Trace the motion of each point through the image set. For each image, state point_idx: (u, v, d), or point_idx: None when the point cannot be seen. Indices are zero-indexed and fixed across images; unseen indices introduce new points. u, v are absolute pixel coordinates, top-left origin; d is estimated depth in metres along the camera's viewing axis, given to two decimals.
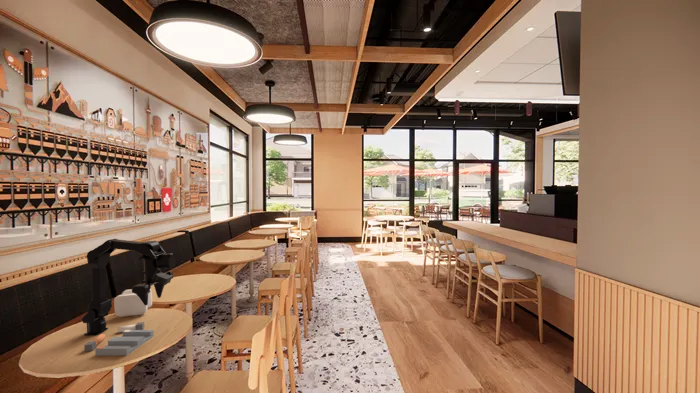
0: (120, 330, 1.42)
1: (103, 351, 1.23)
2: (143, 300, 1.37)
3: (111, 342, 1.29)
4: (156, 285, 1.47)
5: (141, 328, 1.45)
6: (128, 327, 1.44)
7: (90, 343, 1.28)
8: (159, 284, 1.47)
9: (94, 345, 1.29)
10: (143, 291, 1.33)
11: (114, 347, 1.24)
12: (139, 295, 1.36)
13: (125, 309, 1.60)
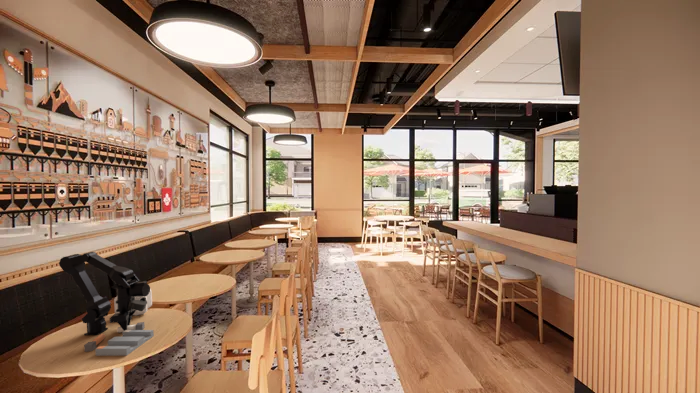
0: (120, 330, 1.42)
1: (103, 351, 1.23)
2: (123, 325, 1.42)
3: (111, 342, 1.29)
4: None
5: (141, 328, 1.45)
6: (128, 327, 1.44)
7: (90, 343, 1.28)
8: None
9: (94, 345, 1.29)
10: (124, 319, 1.36)
11: (114, 347, 1.24)
12: (119, 321, 1.41)
13: None
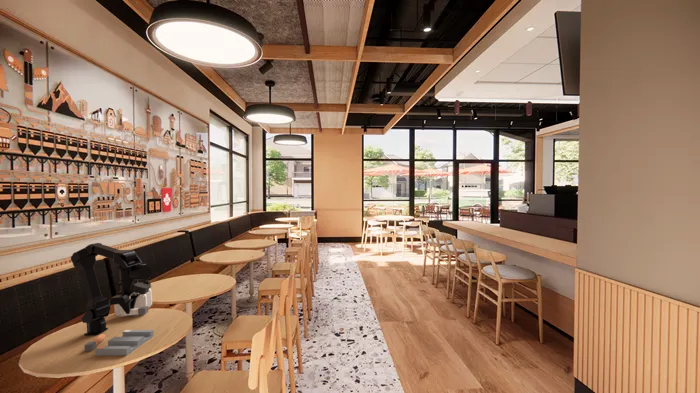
0: (123, 313, 1.38)
1: (103, 351, 1.23)
2: (125, 308, 1.37)
3: (111, 342, 1.29)
4: None
5: (143, 312, 1.39)
6: (131, 310, 1.38)
7: (90, 343, 1.28)
8: (131, 297, 1.41)
9: (94, 345, 1.29)
10: (122, 302, 1.30)
11: (114, 347, 1.24)
12: (121, 304, 1.36)
13: None
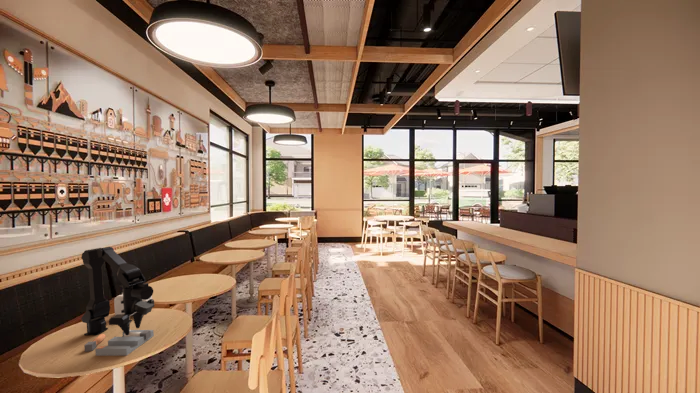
0: (126, 336, 1.34)
1: (103, 351, 1.23)
2: (124, 330, 1.31)
3: (111, 342, 1.29)
4: (134, 315, 1.38)
5: (145, 337, 1.34)
6: (133, 334, 1.34)
7: (90, 343, 1.28)
8: (137, 313, 1.38)
9: (94, 345, 1.29)
10: (121, 323, 1.25)
11: (114, 347, 1.24)
12: (120, 325, 1.30)
13: None
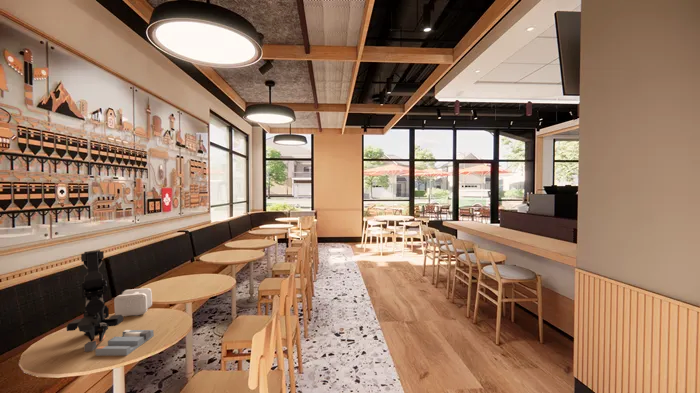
0: (126, 336, 1.34)
1: (103, 351, 1.23)
2: None
3: (111, 342, 1.29)
4: None
5: (145, 337, 1.34)
6: (133, 334, 1.34)
7: (90, 343, 1.28)
8: None
9: (94, 345, 1.29)
10: None
11: (114, 347, 1.24)
12: None
13: (125, 309, 1.60)
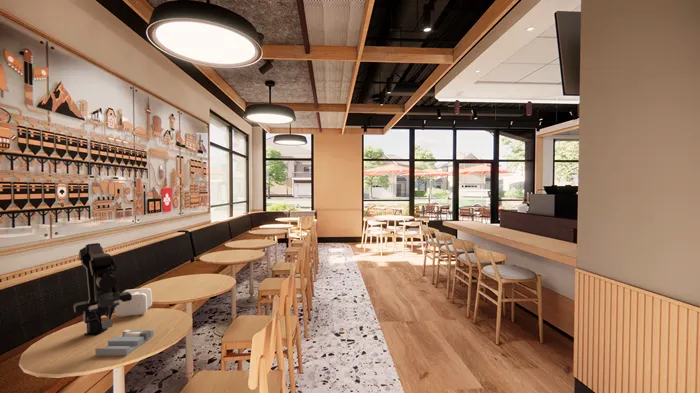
0: (126, 336, 1.34)
1: (103, 351, 1.23)
2: None
3: (111, 342, 1.29)
4: (109, 306, 1.32)
5: (145, 337, 1.34)
6: (133, 334, 1.34)
7: (108, 320, 1.26)
8: None
9: None
10: (75, 311, 1.21)
11: (114, 347, 1.24)
12: None
13: (125, 309, 1.60)
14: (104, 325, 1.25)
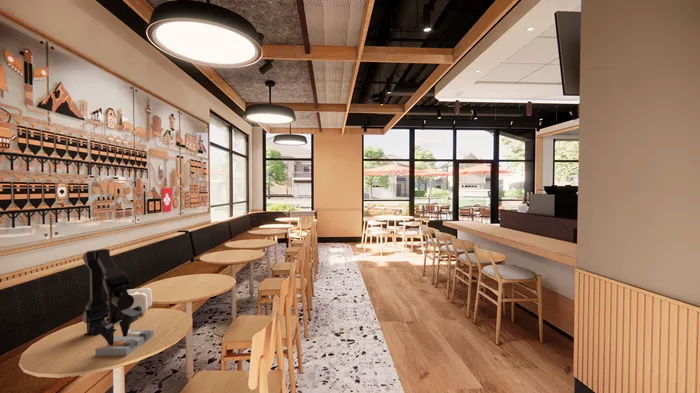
0: (126, 336, 1.34)
1: (103, 351, 1.23)
2: (108, 340, 1.23)
3: None
4: (122, 322, 1.31)
5: (145, 337, 1.34)
6: (133, 334, 1.34)
7: (130, 340, 1.27)
8: (124, 321, 1.31)
9: None
10: (104, 332, 1.17)
11: (114, 347, 1.24)
12: (103, 335, 1.22)
13: None
14: (130, 345, 1.26)
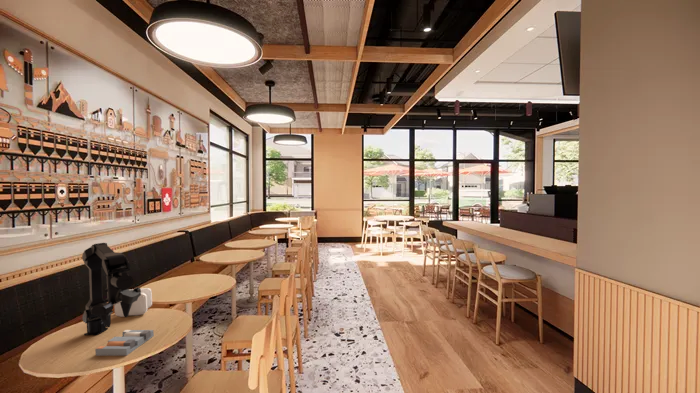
0: (126, 336, 1.34)
1: (103, 351, 1.23)
2: (105, 321, 1.21)
3: None
4: (122, 303, 1.32)
5: (145, 337, 1.34)
6: (133, 334, 1.34)
7: (130, 340, 1.27)
8: (125, 302, 1.32)
9: None
10: (103, 312, 1.17)
11: (114, 347, 1.24)
12: (100, 316, 1.20)
13: None
14: (130, 345, 1.26)
